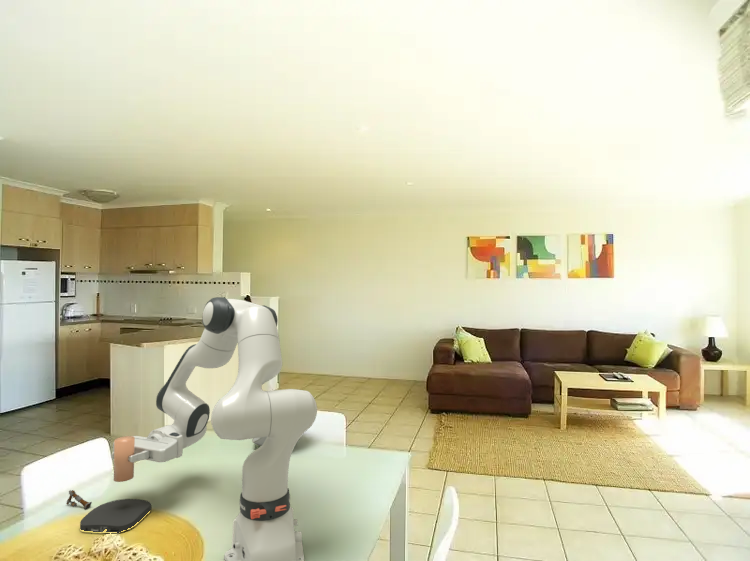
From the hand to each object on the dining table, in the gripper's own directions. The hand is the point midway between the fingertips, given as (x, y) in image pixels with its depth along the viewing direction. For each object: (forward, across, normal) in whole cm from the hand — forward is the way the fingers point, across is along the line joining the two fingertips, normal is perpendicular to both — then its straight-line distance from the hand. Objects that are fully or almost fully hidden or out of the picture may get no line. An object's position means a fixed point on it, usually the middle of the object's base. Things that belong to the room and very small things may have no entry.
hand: (121, 457), depth 124 cm
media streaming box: (+1, 0, +17) cm, 17 cm away
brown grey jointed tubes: (0, -17, +17) cm, 24 cm away
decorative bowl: (-71, +14, +12) cm, 73 cm away
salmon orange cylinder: (-1, 0, +6) cm, 6 cm away
